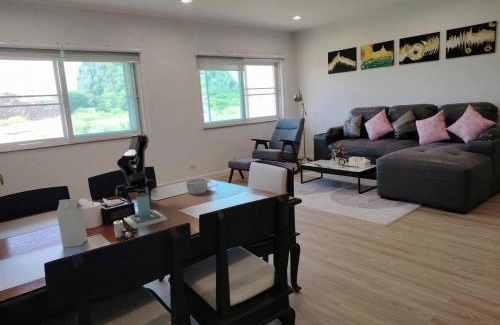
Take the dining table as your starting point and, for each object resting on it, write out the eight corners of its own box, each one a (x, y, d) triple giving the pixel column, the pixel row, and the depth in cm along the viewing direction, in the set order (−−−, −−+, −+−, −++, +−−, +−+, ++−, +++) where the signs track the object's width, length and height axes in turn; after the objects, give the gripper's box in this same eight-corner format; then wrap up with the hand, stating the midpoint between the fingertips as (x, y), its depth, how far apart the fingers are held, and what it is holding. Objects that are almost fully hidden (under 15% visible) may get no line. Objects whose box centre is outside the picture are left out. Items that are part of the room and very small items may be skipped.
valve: (110, 237, 149) (121, 245, 141) (108, 222, 148) (119, 229, 139) (125, 232, 154) (137, 240, 145) (123, 218, 152) (135, 224, 144)
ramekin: (182, 194, 210) (181, 183, 209) (193, 188, 222) (192, 178, 221) (201, 195, 205) (200, 184, 204) (212, 189, 217) (211, 178, 216)
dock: (123, 220, 170) (123, 215, 170) (155, 212, 179) (154, 208, 179) (134, 228, 158) (133, 224, 157) (167, 219, 167) (167, 215, 166)
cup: (137, 218, 169) (134, 194, 167) (148, 215, 172) (145, 191, 170) (141, 220, 164) (138, 196, 162) (152, 217, 168) (149, 193, 165)
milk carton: (70, 241, 148) (62, 197, 145) (87, 239, 149) (80, 196, 145) (62, 248, 141) (54, 202, 138) (80, 246, 142) (73, 201, 138)
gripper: (113, 170, 166) (123, 197, 159) (151, 163, 176) (162, 188, 169) (111, 183, 173) (121, 209, 167) (148, 176, 184) (158, 200, 177)
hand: (141, 201), depth 170 cm, fingers open, 9 cm apart
